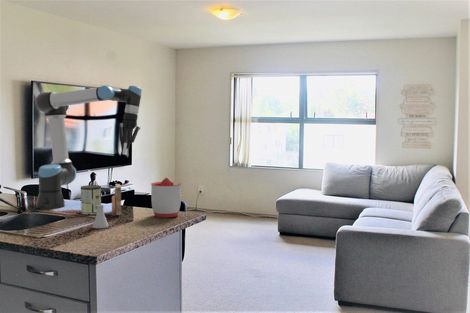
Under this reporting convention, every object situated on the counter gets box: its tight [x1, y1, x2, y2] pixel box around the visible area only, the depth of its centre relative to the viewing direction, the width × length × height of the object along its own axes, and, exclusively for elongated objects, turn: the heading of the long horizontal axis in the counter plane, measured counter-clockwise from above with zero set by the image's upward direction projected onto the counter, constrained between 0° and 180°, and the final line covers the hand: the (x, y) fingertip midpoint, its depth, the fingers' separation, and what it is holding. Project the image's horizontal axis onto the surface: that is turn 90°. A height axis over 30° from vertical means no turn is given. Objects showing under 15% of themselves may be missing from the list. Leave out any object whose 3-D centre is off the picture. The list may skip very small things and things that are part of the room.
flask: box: [92, 204, 109, 229], centre depth 210 cm, size 7×7×10 cm
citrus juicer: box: [150, 177, 183, 219], centre depth 237 cm, size 16×17×20 cm
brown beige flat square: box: [114, 183, 122, 216], centre depth 240 cm, size 15×2×14 cm, turn 17°
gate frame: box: [111, 195, 117, 217], centre depth 243 cm, size 15×3×12 cm, turn 6°
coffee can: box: [80, 184, 102, 215], centre depth 242 cm, size 10×10×14 cm
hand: (124, 154), depth 259 cm, fingers closed
